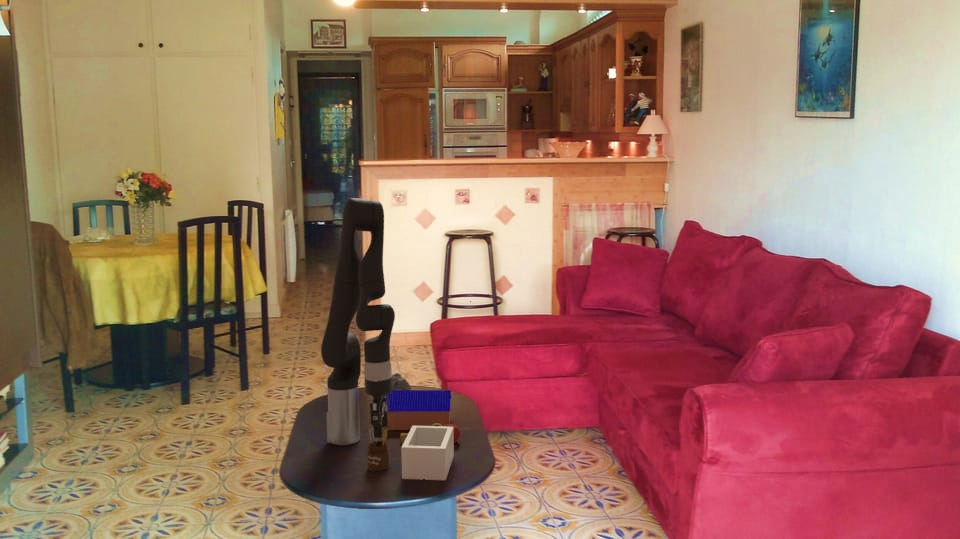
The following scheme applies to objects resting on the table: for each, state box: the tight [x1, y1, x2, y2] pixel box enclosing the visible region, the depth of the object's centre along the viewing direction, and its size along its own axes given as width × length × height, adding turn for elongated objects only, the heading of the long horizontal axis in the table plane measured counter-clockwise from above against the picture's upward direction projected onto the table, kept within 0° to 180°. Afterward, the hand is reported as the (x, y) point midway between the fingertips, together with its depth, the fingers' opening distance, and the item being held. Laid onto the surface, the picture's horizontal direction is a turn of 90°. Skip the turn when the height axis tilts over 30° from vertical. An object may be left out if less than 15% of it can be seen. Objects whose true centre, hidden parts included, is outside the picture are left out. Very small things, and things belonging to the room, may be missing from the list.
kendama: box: [399, 423, 461, 444], centre depth 253 cm, size 8×6×18 cm
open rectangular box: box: [400, 426, 455, 481], centre depth 234 cm, size 12×17×9 cm
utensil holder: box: [367, 427, 390, 472], centre depth 234 cm, size 6×6×12 cm
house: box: [387, 389, 452, 430], centre depth 269 cm, size 12×20×12 cm, turn 90°
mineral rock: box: [392, 373, 412, 390], centre depth 294 cm, size 13×11×10 cm
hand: (381, 431), depth 233 cm, fingers open, 8 cm apart
